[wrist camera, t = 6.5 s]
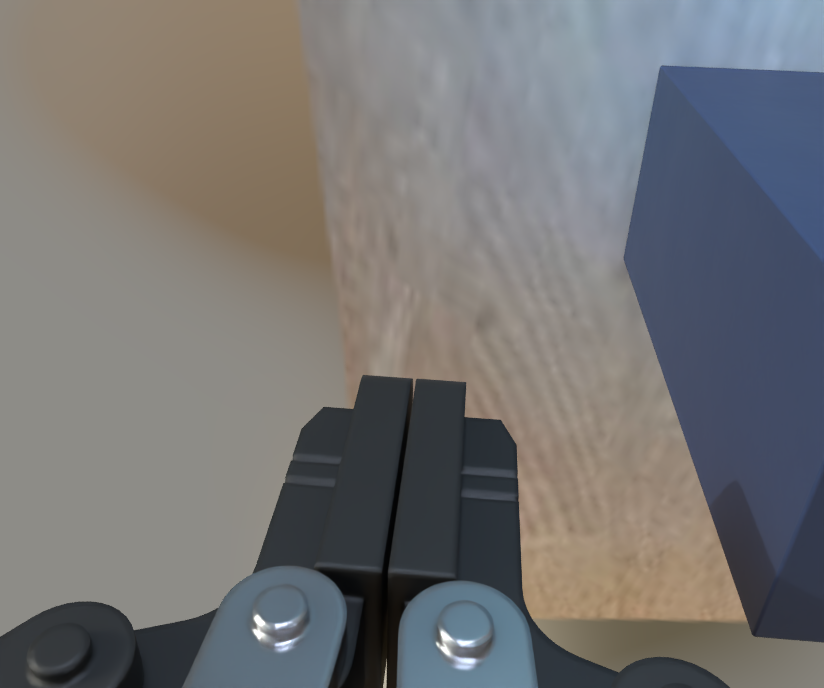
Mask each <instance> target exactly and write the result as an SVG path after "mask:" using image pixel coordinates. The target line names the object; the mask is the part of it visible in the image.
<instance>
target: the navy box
mask: <svg viewBox="0 0 824 688" xmlns="http://www.w3.org/2000/svg"><path fill="white" fill-rule="evenodd" d="M624 261H625V264H626V267H627V270H628V273H629V276H630V279H631V282H632V285H633V287H634V290H635V293H636V296H637V299H638V302H639V305H640V308H641V311H642V314H643V317H644V320H645V323H646V325H647V328H648V331H649V334H650V337H651V340H652V343H653V346H654V349H655V352H656V355H657V358H658V361H659V363H660V366H661V369H662V372H663V375H664V378H665V381H666V384H667V387H668V390H669V393H670V396H671V399H672V401H673V404H674V407H675V410H676V413H677V416H678V419H679V422H680V425H681V428H682V431H683V434H684V437H685V439H686V442H687V445H688V448H689V451H690V454H691V457H692V460H693V463H694V466H695V469H696V472H697V475H698V478H699V480H700V483H701V486H702V489H703V492H704V495H705V498H706V501H707V504H708V507H709V510H710V513H711V516H712V518H713V521H714V524H715V527H716V530H717V533H718V536H719V539H720V542H721V545H722V548H723V551H724V554H725V556H726V559H727V562H728V565H729V568H730V571H731V574H732V577H733V580H734V583H735V586H736V589H737V592H738V594H739V597H740V600H741V603H742V606H743V609H744V612H745V615H746V618H747V621H748V624H749V626H750V629H751V632H752V635H753V636H755V637H766V638H777V639H788V640H800V641H813V642H824V73H819V72H796V71H773V70H749V69H726V68H703V67H679V66H661V67H660V71H659V76H658V81H657V87H656V92H655V97H654V102H653V107H652V113H651V118H650V123H649V128H648V134H647V139H646V144H645V149H644V154H643V160H642V165H641V170H640V175H639V181H638V186H637V191H636V196H635V202H634V207H633V212H632V217H631V222H630V228H629V233H628V238H627V243H626V249H625V254H624Z"/></svg>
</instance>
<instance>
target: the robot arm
mask: <svg viewBox="0 0 824 688" xmlns="http://www.w3.org/2000/svg"><path fill="white" fill-rule="evenodd" d="M465 396H466V382H455V381H441V380H427V379H416V384H415V391H414V398H413V379H410V378H397V377H383V376H369V375H363V376H362V378H361V382H360V386H359V390H358V394H357V398H356V402H355V406H354V409H344V408H331V407H323V408H322V409H321V410H320V411H319V412H318V413H317V414H316V415H315V416H314V417H313V418H312V419H311V420H310V421H309V422H308V423H307V424H306V425H305V426H304V427H303V428H302V429H301V432H300V435H299V439H298V441H297V445H296V447H295V451H294V453H293V460H292V461H291V462H290V465H289V468H288V471H287V474H286V477H285V478H286V479H285V483H283V486H282V489H281V492H280V496H279V499H278V501H277V504H276V508H275V511H274V513H273V516H272V519H271V522H270V525H269V528H268V531H267V535H266V538H265V540H264V543H263V546H262V549H261V552H260V555H259V558H258V561H257V564H256V567H255V569H254V572H253V574H252V575H250V576H248V577H246V578H245V579H243V580H242V581H240V582H239V583H238V584H237V585H235V586H234V587H233V588H232V589H231V590H230V591H229V593H228V594H227V595H226V596H225V597H224V599H223V601H222V602H221V604H220V606H219V608H217V609H215V610H213V611H211V612H209V613H207V614H204V615H202V616H199V617H196V618H193V619H189V620H185V621H180V622H175V623H170V624H165V625H160V626H154V627H150V628H145V629H140V630H133V627H132V624H131V623H130V622H129V620H128V618H127V617H126V616H125V615H124V614H123V613H121V612H120V611H119V610H117V609H116V608H114V607H112V606H109V605H106V604H103V603H97V602H74V603H67V604H64V605H60V606H56V607H54V608H51V609H48V610H46V611H43V612H42V613H40V614H38V615H36V616H34V617H32V618H30V619H29V620H28V621H26V622H24V623H22V624H21V625H19V626H17V627H16V628H14V629H12V630H11V631H9V632H7V633H6V634H4V635H3V636H1V637H0V688H383V683H384V675H385V667H386V660H387V688H730V687H729V686H727V685H726V684H725V683H724V682H723V681H722V680H720V679H719V678H718V677H716V676H715V675H713V674H712V673H710V672H708V671H707V670H705V669H703V668H701V667H699V666H697V665H695V664H692V663H689V662H686V661H683V660H679V659H674V658H669V657H653V658H645V659H642V660H639V661H636V662H634V663H632V664H630V665H628V666H626V667H625V668H624V669H623V670H622V671H621V672H619V673H618V672H616V671H613V670H611V669H608V668H606V667H603V666H601V665H598V664H595V663H593V662H591V661H588V660H585V659H583V658H581V657H578V656H576V655H574V654H572V653H570V652H568V651H566V650H565V649H563V648H561V647H560V646H558V645H557V644H555V643H554V642H553V641H552V640H550V639H549V638H548V637H547V636H546V635H545V634H544V633H543V632H542V631H541V630H540V629H539V628H538V626H537V625H536V624H535V622H534V621H533V619H532V618H531V616H530V614H529V612H528V610H527V608H526V605H525V602H524V598H523V591H522V570H521V545H520V520H519V502H518V496H519V495H518V478H517V474H518V470H517V446H516V443H515V442H514V440H513V439H512V437H511V436H510V434H509V432H508V431H507V429H506V428H505V426H504V424H503V423H502V421H501V420H494V419H481V418H468V417H464V416H465Z"/></svg>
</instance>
